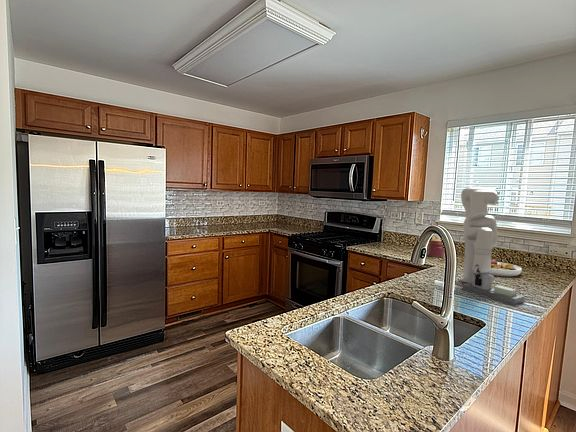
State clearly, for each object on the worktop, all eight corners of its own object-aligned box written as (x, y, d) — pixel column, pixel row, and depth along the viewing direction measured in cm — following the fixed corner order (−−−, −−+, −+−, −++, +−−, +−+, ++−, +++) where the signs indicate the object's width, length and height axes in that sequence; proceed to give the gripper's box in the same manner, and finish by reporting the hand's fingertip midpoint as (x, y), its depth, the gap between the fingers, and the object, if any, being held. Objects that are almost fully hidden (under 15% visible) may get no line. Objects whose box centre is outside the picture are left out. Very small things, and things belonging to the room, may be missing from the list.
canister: (435, 258, 262) (437, 237, 261) (424, 255, 274) (425, 235, 273) (447, 257, 267) (448, 236, 265) (435, 254, 279) (436, 234, 278)
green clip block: (498, 296, 165) (498, 285, 165) (515, 301, 158) (516, 289, 158) (493, 297, 163) (494, 286, 162) (510, 302, 156) (511, 290, 155)
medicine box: (490, 290, 168) (494, 275, 167) (486, 291, 166) (491, 276, 164) (474, 284, 175) (479, 270, 173) (471, 285, 172) (475, 270, 170)
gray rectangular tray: (472, 287, 179) (472, 282, 179) (524, 302, 157) (524, 296, 156) (462, 289, 175) (462, 284, 174) (514, 305, 152) (515, 298, 152)
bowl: (532, 278, 205) (533, 266, 205) (486, 277, 205) (487, 265, 205) (501, 267, 235) (502, 257, 235) (461, 266, 235) (462, 256, 235)
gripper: (485, 249, 176) (482, 281, 178) (467, 251, 168) (464, 284, 169) (499, 252, 170) (496, 285, 171) (481, 254, 162) (479, 288, 163)
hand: (481, 284), depth 170 cm, fingers open, 5 cm apart
